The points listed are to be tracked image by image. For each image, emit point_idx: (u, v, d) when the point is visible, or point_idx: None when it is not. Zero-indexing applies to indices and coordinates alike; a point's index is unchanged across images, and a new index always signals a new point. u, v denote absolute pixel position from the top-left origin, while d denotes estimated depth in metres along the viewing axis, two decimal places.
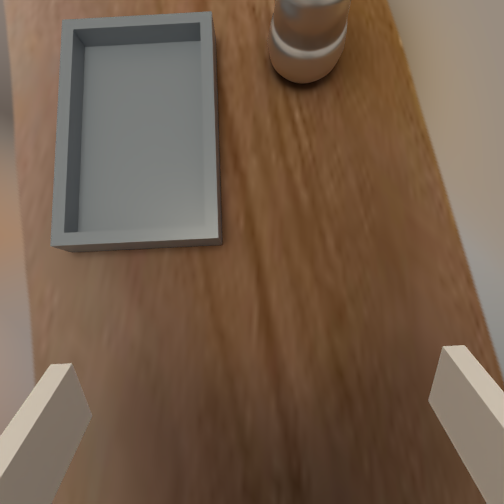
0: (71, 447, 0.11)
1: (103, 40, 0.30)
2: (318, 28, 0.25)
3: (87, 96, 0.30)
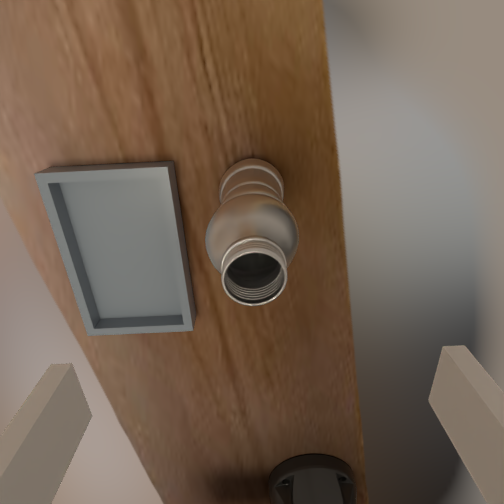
0: (71, 447, 0.11)
1: None
2: None
3: (75, 223, 0.37)
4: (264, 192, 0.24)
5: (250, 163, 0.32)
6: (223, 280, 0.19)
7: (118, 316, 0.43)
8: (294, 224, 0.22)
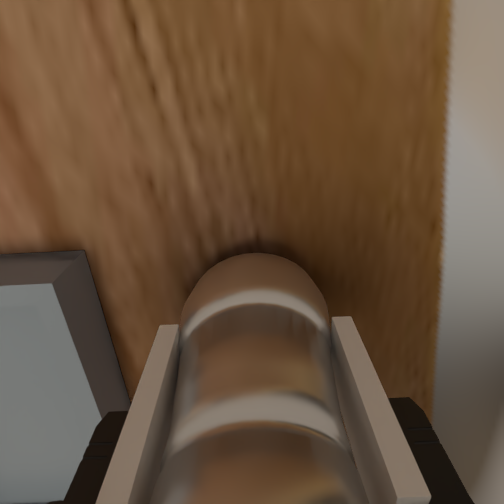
0: None
1: None
2: None
3: None
4: None
5: (252, 283, 0.13)
6: None
7: (14, 502, 0.24)
8: None
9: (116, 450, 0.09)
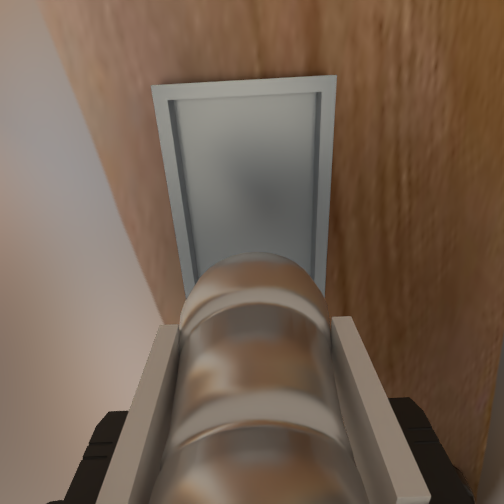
0: None
1: None
2: None
3: (187, 165, 0.28)
4: None
5: (251, 282, 0.13)
6: None
7: None
8: None
9: (116, 450, 0.09)
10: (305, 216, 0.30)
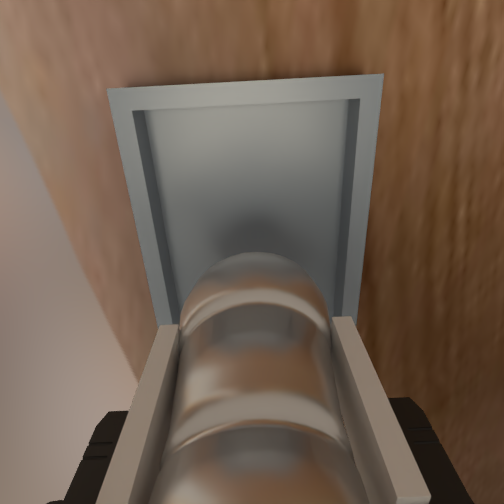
0: None
1: None
2: None
3: (166, 198, 0.20)
4: None
5: (251, 282, 0.13)
6: None
7: None
8: None
9: (116, 451, 0.09)
10: (327, 265, 0.22)
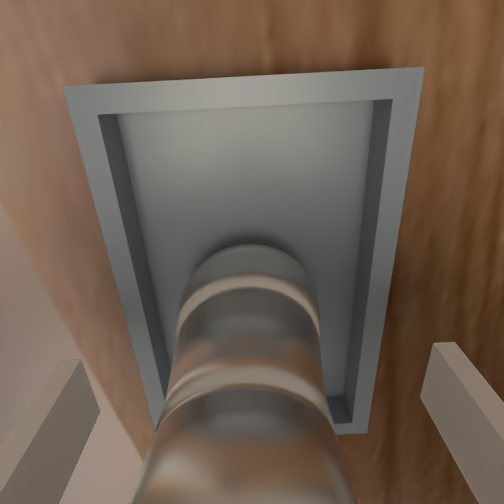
0: (80, 441, 0.12)
1: None
2: None
3: (147, 220, 0.17)
4: None
5: (244, 269, 0.13)
6: None
7: None
8: None
9: None
10: (342, 297, 0.19)
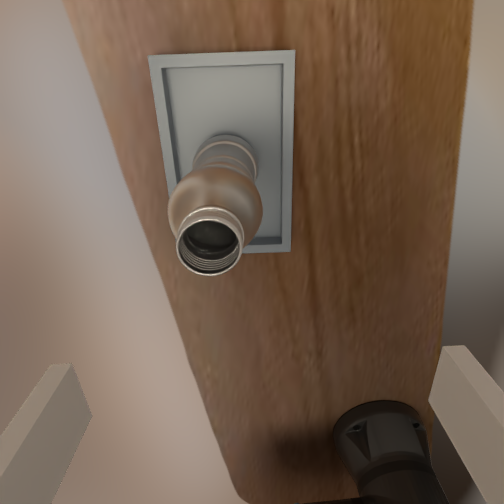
0: (71, 447, 0.11)
1: (185, 67, 0.31)
2: None
3: (176, 124, 0.34)
4: (228, 164, 0.23)
5: (222, 139, 0.31)
6: (177, 249, 0.18)
7: None
8: (257, 196, 0.22)
9: None
10: (274, 171, 0.37)
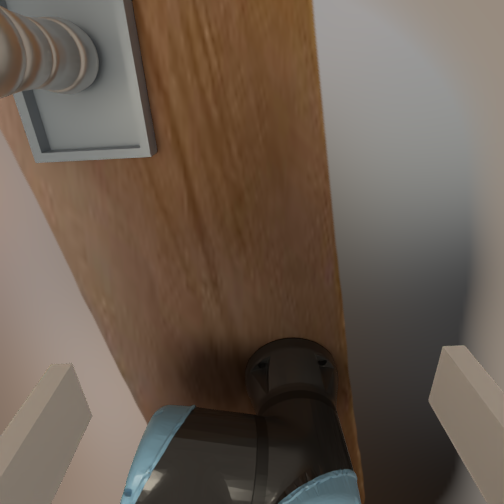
0: (71, 447, 0.11)
1: None
2: (49, 87, 0.30)
3: None
4: None
5: None
6: None
7: (70, 146, 0.39)
8: None
9: None
10: (125, 68, 0.36)
